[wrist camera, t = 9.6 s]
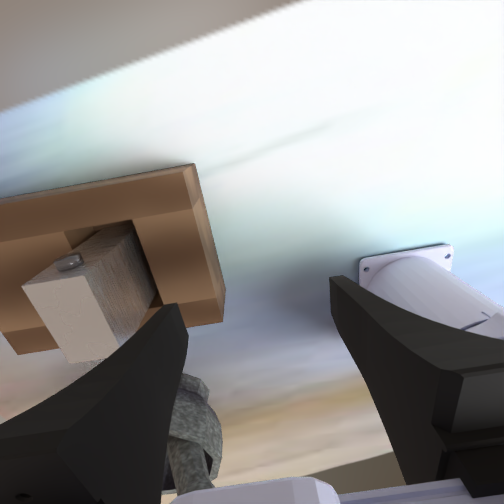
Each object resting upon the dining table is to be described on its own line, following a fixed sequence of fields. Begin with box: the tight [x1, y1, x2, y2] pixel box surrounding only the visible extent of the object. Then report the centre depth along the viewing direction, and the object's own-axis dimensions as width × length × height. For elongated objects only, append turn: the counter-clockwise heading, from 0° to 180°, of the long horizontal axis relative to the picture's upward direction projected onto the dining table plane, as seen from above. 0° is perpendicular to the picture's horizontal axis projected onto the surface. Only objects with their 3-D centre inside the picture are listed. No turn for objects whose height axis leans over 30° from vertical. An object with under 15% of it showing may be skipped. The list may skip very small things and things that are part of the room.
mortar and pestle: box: [161, 374, 223, 496], centre depth 24 cm, size 11×9×12 cm
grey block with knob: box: [21, 223, 158, 364], centre depth 17 cm, size 6×3×8 cm, turn 9°
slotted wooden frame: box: [0, 164, 226, 355], centre depth 20 cm, size 11×16×4 cm
